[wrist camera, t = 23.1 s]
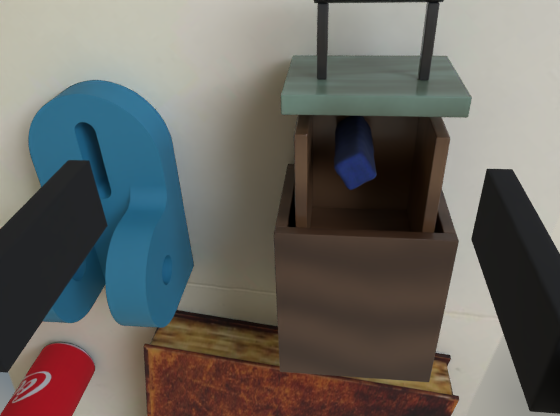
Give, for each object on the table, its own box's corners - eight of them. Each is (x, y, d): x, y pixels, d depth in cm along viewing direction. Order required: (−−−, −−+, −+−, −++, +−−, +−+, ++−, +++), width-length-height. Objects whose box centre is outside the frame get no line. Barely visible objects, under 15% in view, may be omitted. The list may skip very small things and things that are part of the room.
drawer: (291, -36, 31) (277, -15, 25) (461, -39, 30) (493, -18, 24) (294, 206, 41) (285, 267, 35) (423, 211, 40) (438, 274, 34)
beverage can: (38, 335, 55) (-30, 435, 45) (91, 340, 55) (34, 442, 45) (52, 372, 59) (-8, 472, 49) (102, 377, 58) (52, 479, 48)
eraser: (347, 146, 36) (348, 194, 31) (332, 122, 36) (331, 166, 30) (374, 133, 36) (380, 180, 30) (359, 108, 35) (363, 151, 29)
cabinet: (287, 163, 40) (273, 233, 32) (435, 167, 39) (458, 240, 31) (290, 289, 47) (279, 372, 39) (414, 296, 46) (429, 382, 38)
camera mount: (193, 265, 47) (159, 352, 38) (88, 261, 48) (32, 345, 40) (161, 79, 37) (105, 139, 29) (30, 80, 39) (-62, 138, 30)
